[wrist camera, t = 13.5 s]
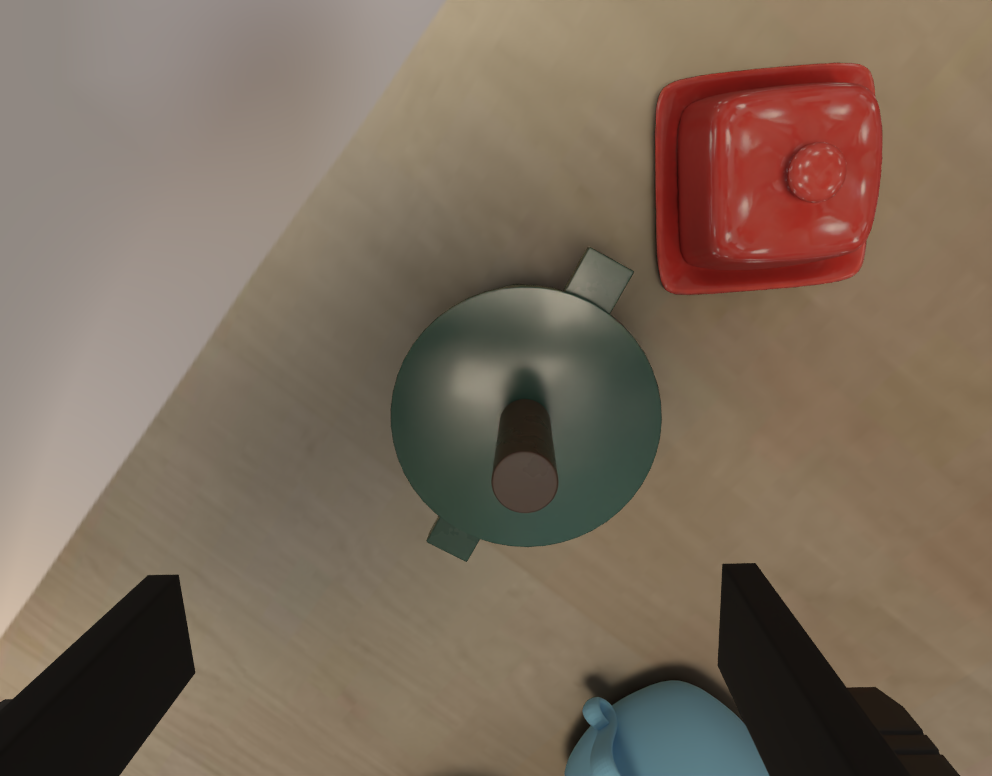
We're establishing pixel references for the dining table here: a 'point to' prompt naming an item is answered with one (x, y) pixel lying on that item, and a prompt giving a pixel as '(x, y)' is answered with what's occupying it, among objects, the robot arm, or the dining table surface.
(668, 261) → the butter dish
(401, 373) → the pot lid
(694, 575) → the dining table surface
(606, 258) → the pot
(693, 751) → the teapot
